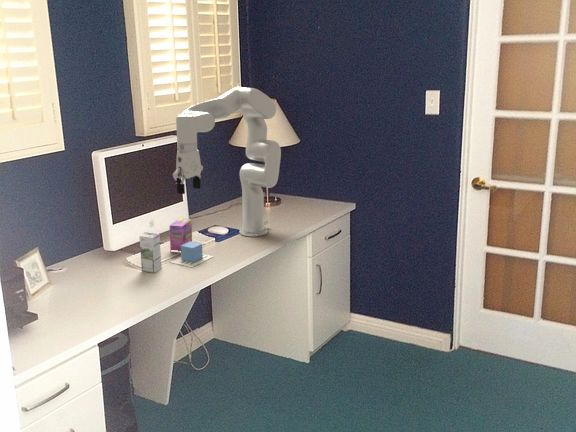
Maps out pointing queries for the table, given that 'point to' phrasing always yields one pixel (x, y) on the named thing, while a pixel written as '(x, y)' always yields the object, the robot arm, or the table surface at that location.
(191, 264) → the letter
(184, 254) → the blue cube
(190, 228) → the box
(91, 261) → the table surface
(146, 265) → the syrup box
